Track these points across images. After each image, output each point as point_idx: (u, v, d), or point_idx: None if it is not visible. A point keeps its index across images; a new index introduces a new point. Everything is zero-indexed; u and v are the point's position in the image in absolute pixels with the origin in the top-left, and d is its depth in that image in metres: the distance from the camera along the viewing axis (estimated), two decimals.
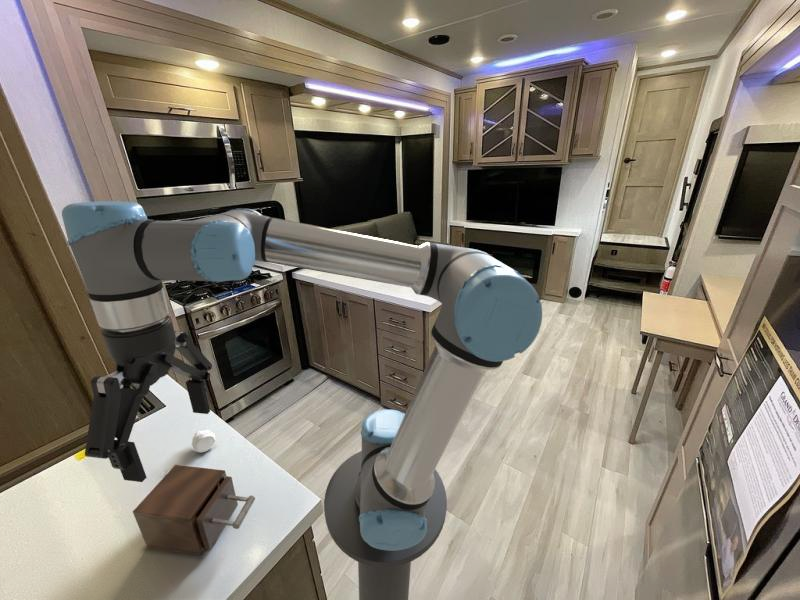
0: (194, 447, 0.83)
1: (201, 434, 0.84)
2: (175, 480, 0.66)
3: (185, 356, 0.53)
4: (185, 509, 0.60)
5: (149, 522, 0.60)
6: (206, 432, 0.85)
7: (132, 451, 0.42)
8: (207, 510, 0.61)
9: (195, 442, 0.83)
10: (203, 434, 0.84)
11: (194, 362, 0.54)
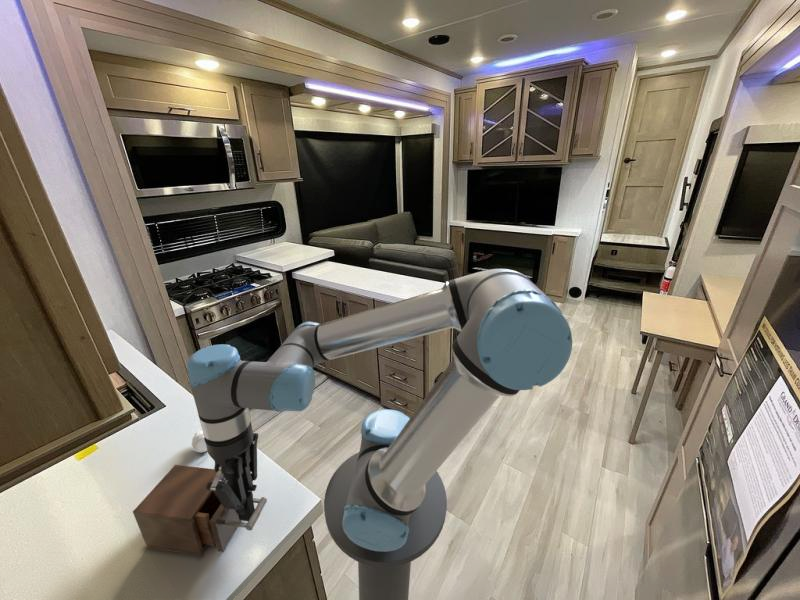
0: (194, 447, 0.83)
1: (201, 434, 0.84)
2: (175, 480, 0.66)
3: None
4: (185, 509, 0.60)
5: (149, 522, 0.60)
6: None
7: (248, 502, 0.62)
8: (220, 512, 0.61)
9: (195, 442, 0.83)
10: None
11: None
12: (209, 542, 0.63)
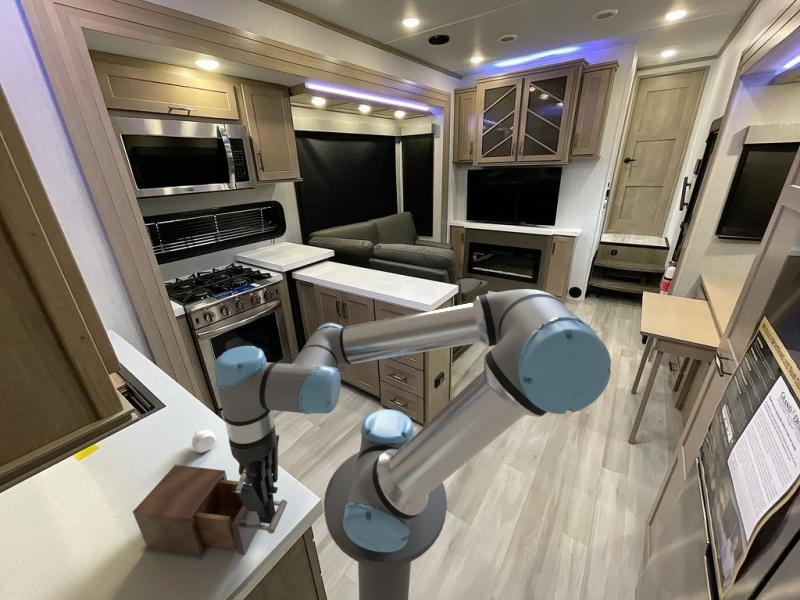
0: (194, 447, 0.83)
1: (201, 434, 0.84)
2: (175, 480, 0.66)
3: None
4: (185, 509, 0.60)
5: (149, 522, 0.60)
6: (206, 432, 0.85)
7: (269, 504, 0.62)
8: (242, 515, 0.61)
9: (195, 442, 0.83)
10: (203, 434, 0.84)
11: None
12: (230, 545, 0.62)
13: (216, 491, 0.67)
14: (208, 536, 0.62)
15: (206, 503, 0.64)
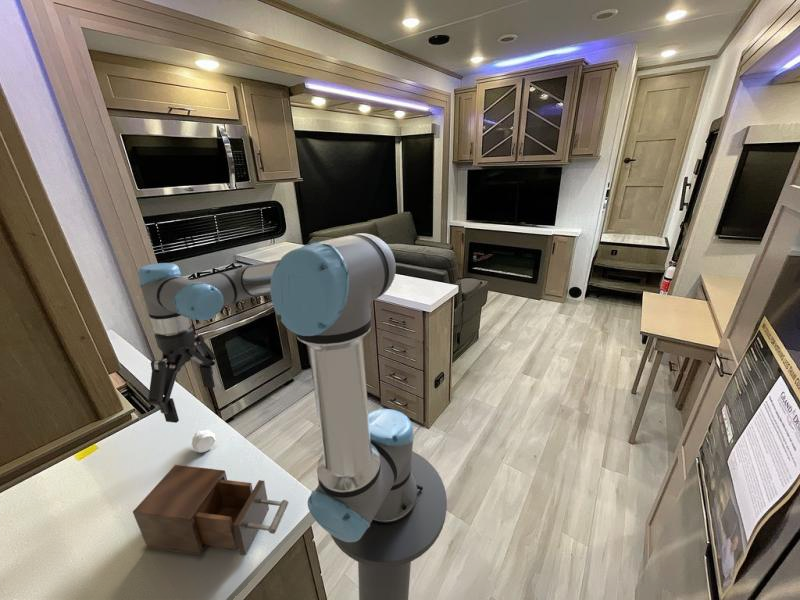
0: (194, 447, 0.83)
1: (201, 434, 0.84)
2: (175, 480, 0.66)
3: (199, 350, 0.85)
4: (185, 509, 0.60)
5: (149, 522, 0.60)
6: (206, 432, 0.85)
7: (172, 403, 0.74)
8: (243, 515, 0.61)
9: (195, 442, 0.83)
10: (203, 434, 0.84)
11: (205, 354, 0.86)
12: (231, 545, 0.62)
13: (217, 492, 0.67)
14: (209, 536, 0.62)
15: (207, 503, 0.64)
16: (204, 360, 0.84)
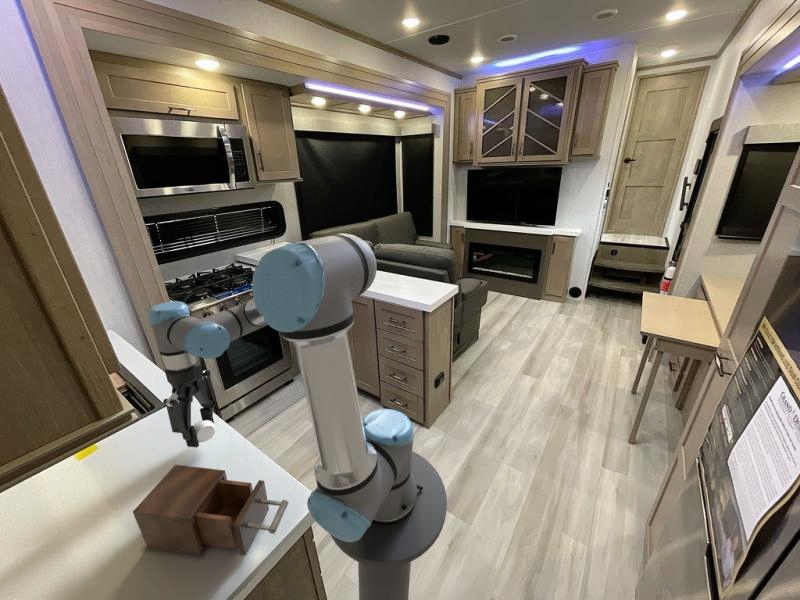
0: None
1: (201, 424, 0.83)
2: (175, 480, 0.66)
3: None
4: (185, 509, 0.60)
5: (149, 522, 0.60)
6: (206, 422, 0.84)
7: (193, 430, 0.81)
8: (243, 515, 0.61)
9: None
10: (203, 424, 0.84)
11: (206, 393, 0.87)
12: (231, 545, 0.62)
13: (217, 492, 0.67)
14: (209, 536, 0.62)
15: (207, 503, 0.64)
16: (206, 399, 0.85)
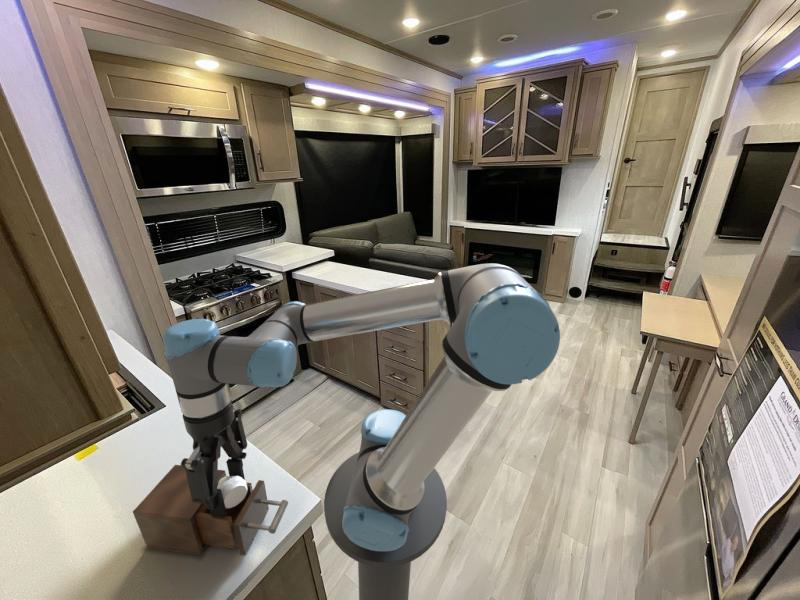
0: None
1: (229, 484, 0.61)
2: (175, 480, 0.66)
3: None
4: (185, 509, 0.60)
5: (149, 522, 0.60)
6: (235, 480, 0.62)
7: (220, 496, 0.58)
8: (243, 515, 0.61)
9: None
10: (232, 484, 0.61)
11: (235, 439, 0.65)
12: (231, 545, 0.62)
13: None
14: (209, 536, 0.62)
15: None
16: (236, 449, 0.63)
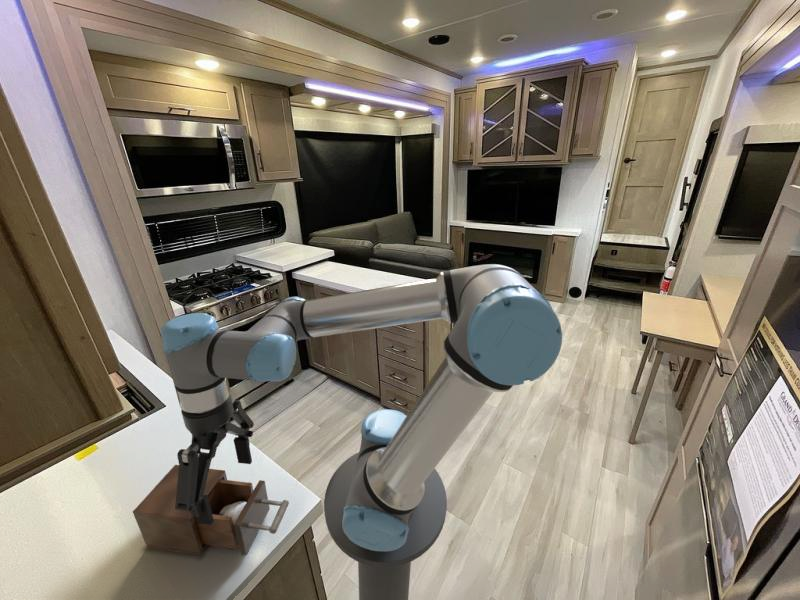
0: None
1: (237, 509, 0.64)
2: (175, 480, 0.66)
3: (234, 418, 0.65)
4: None
5: (149, 522, 0.60)
6: (242, 504, 0.65)
7: (205, 502, 0.54)
8: (244, 515, 0.61)
9: (233, 522, 0.62)
10: (240, 508, 0.64)
11: (240, 422, 0.66)
12: (232, 545, 0.62)
13: (217, 492, 0.67)
14: (210, 536, 0.62)
15: None
16: (241, 432, 0.64)
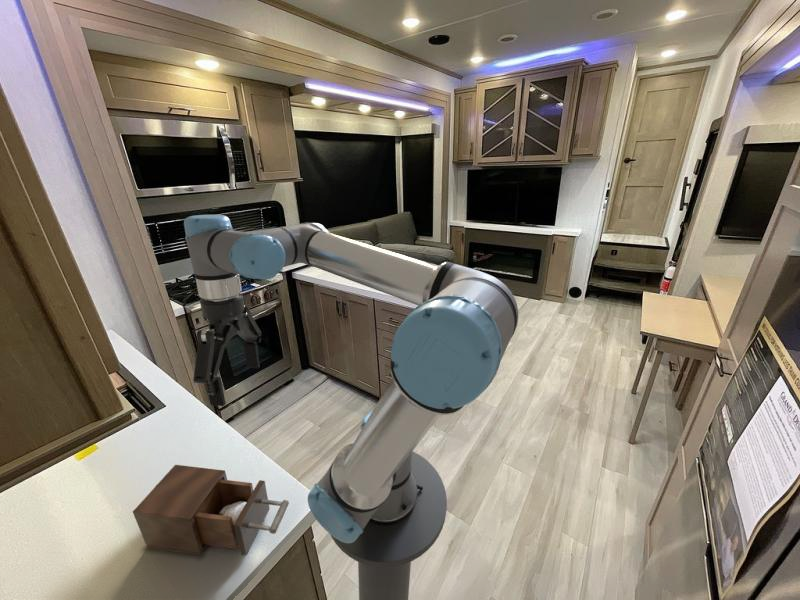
0: None
1: (237, 509, 0.64)
2: (175, 480, 0.66)
3: (244, 324, 0.73)
4: (185, 509, 0.60)
5: (149, 522, 0.60)
6: (242, 504, 0.65)
7: (219, 383, 0.62)
8: (244, 515, 0.61)
9: (233, 522, 0.62)
10: (239, 508, 0.64)
11: (250, 329, 0.75)
12: (232, 545, 0.62)
13: (217, 492, 0.67)
14: (210, 536, 0.62)
15: (208, 503, 0.64)
16: (250, 335, 0.72)
